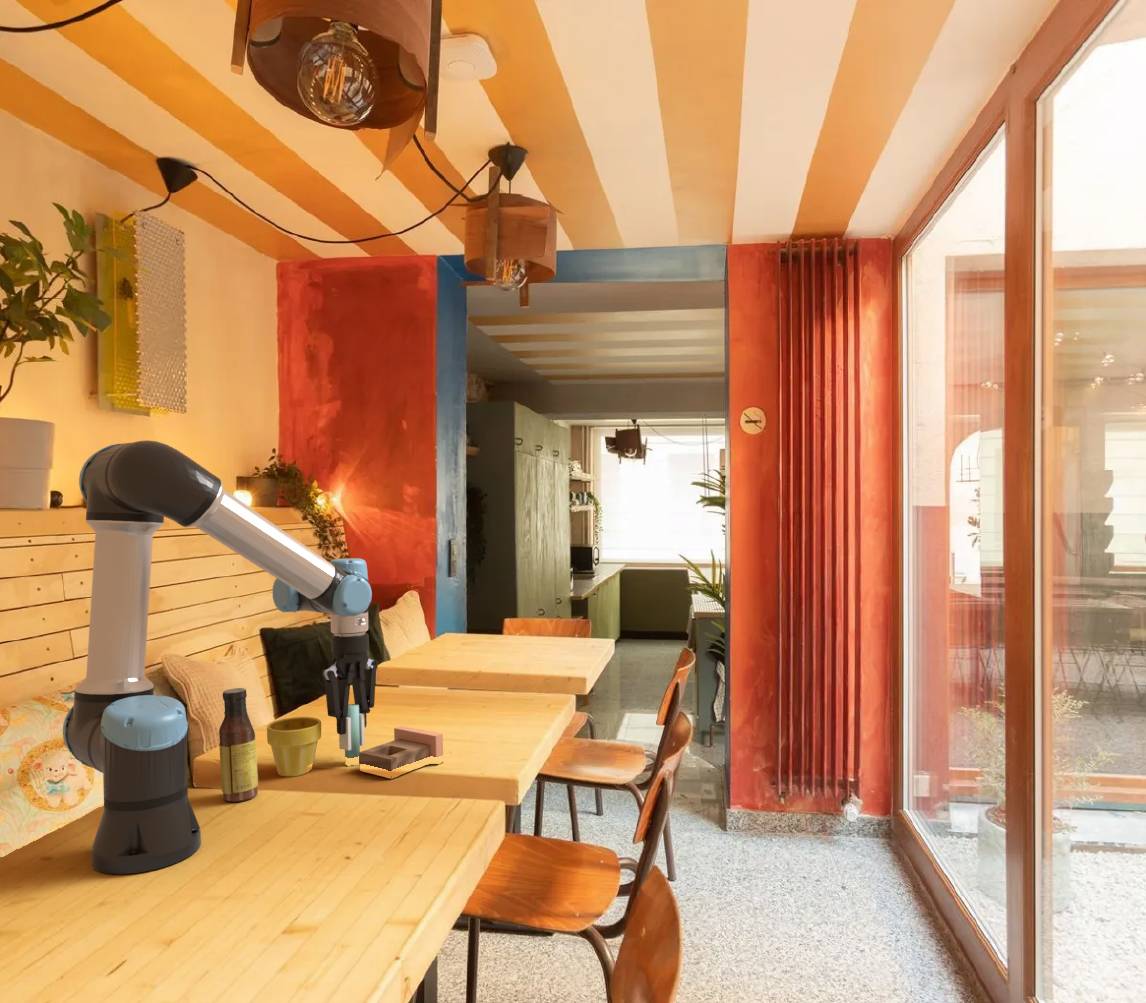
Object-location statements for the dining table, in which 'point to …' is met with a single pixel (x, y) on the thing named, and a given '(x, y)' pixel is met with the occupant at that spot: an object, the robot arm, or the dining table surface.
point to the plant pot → (294, 744)
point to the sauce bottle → (237, 749)
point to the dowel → (354, 731)
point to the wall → (421, 738)
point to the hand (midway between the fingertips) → (352, 746)
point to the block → (395, 754)
